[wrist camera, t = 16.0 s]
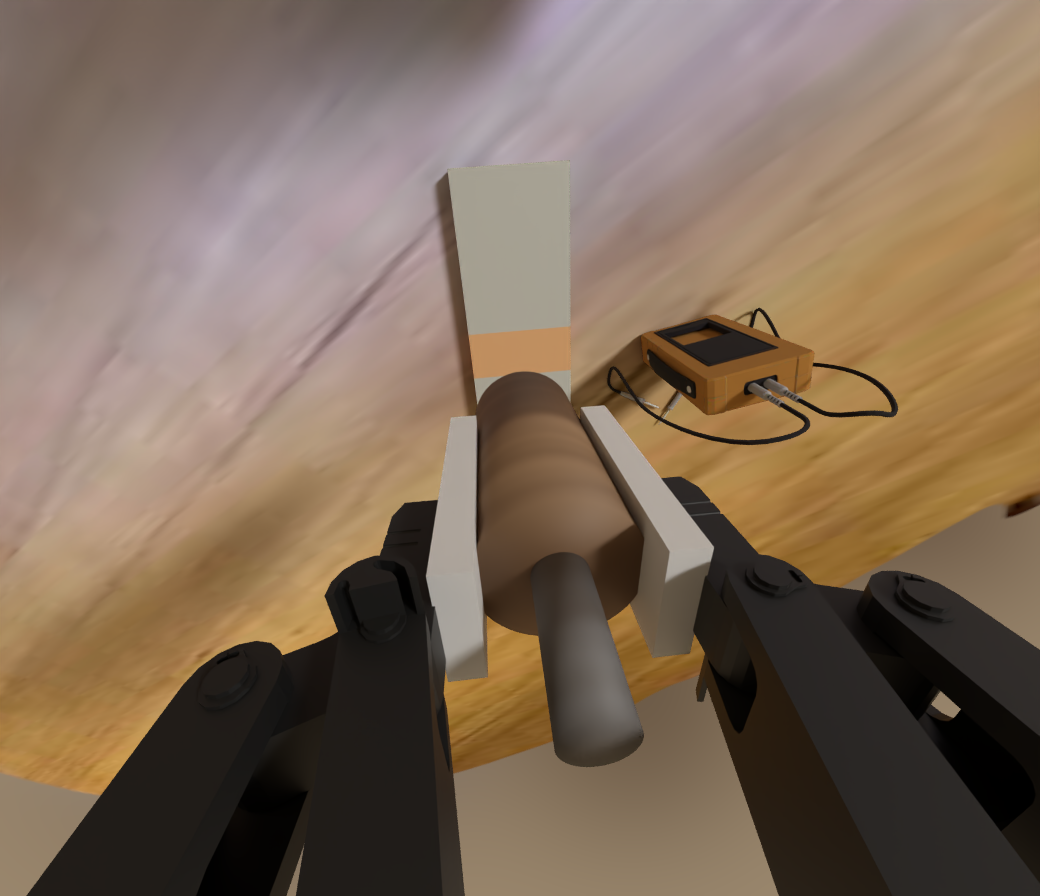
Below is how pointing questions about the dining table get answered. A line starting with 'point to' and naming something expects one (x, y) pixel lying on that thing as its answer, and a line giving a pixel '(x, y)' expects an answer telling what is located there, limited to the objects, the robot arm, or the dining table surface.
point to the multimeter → (734, 371)
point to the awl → (558, 559)
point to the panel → (515, 268)
